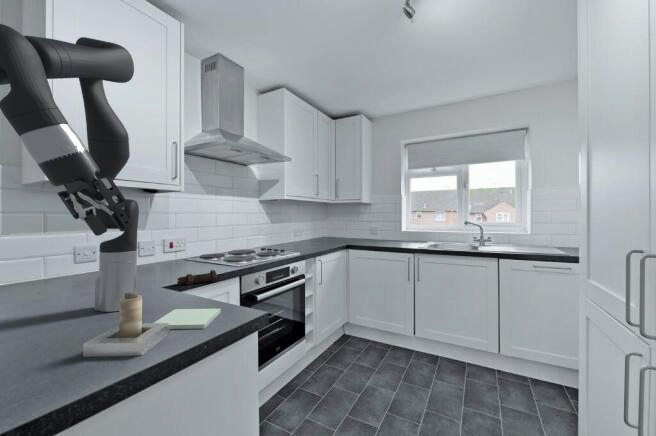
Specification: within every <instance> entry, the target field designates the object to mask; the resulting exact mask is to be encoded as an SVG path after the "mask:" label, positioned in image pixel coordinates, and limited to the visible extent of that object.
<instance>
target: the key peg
mask: <svg viewBox="0 0 656 436" xmlns="http://www.w3.org/2000/svg"><path fill="white" fill-rule="evenodd" d="M118 322H119V323H118V325H119V338H137V337H139V336H140V335H142V323H143V295H141V294H139V292H138V291H136V292H127V293H125V297H122V298H120V311H119V321H118Z"/></svg>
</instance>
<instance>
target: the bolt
mask: <svg viewBox="0 0 656 436" xmlns="http://www.w3.org/2000/svg"><path fill="white" fill-rule="evenodd" d="M217 277H218V276H217V271H216V269H215V270H214V269H212V270H210V271H209V272H207V273H200V274H192V273H187V274H186V275H185V276H179V277H178V278H177V282H176V284H177V285H188V286H192V285H193V284H194V283H201V282H202V283H203V282H211V283H216V282H217V279H218V278H217Z"/></svg>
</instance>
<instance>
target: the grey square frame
mask: <svg viewBox="0 0 656 436" xmlns="http://www.w3.org/2000/svg"><path fill="white" fill-rule="evenodd" d="M169 334H170V329H169V323H154V322H150V323H148V322H147V323H143V322H142V335H140V336H139V337H137V338H119V324H118V325H115V326H114V327H112V328H110V329H108V330H106V331H105V332H103V333H101V334H99V335H97V336H95V337H93V338H91V339H90V340H87V341H86V342H84V343H83V344H82V345H83V346H82V357H83V358H84V357H85V358H86V357H87V358H88V357H92V358H93V357H127V356H128V357H130V356H131V357H132V356H143V355H144V354H146V353H147V352H149V350H150V349H152V348H153V347H155V346H156V345H157V344H158V343H160V342H161V341H162V340H164V339H165V338H166V337H167V336H169Z"/></svg>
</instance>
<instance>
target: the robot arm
mask: <svg viewBox="0 0 656 436" xmlns="http://www.w3.org/2000/svg"><path fill="white" fill-rule="evenodd" d="M134 73H135V65H134V60H133V57H132V54H131V53H130V52H129V51H128V49H127V48H126V47H124V46H122V45H120V44H118V43H115V42H111V41H105V40H101V39H96V38H91V37H85V36H83V37H79V38H78V39H77V40H76V41H75V43H72V42H69V41H63V40H61V39H60V40H59V39H54V38H50V37H49V38H47V37H41V36H36V35H35V36H33V35H23V34H22V33H20V32H19V31H17V30H16V29H14V28H13V27H11V26H9V25H6V24H2V23H0V86H3V85H9V86H10V90H9V92H8V93H7V94H6V95H5V96H4V97H3V98H2V99H0V111H1V112H2V114H3V116H4V118H5V119H6V120H7V122H9V124H10V125H11V127H12V128H13V130H14V131H15V133H16V134H17V135H18V136H19V138H20V140H21V141H22V143H23V145H24V147H25V149H26V150H27V152H28V154H29V155H30V157H32V159H33V160H34V162H35V163H36V165H37V166H38V167H39V169H40V170H41V172H42V173H43V174H44V175H45V177H46V178H47V179H48V181H49V182H50V184H51V185H52V186H53V187H60V186H64V188H65V189H63V190H61V191H58V192H57V195H58V197H59V198H60V200H61V201H62V203H63V204H64V205H65V207H66V209H67V210H68V211H69V213H70V214H71V216H72V217H73V219H75V220H78V219H80V220H81V221H82V222H85V223H86V224H87V226H88V227H89V229H90V230H91V231H92V233H93V235H94V236H97V237H98V236H101V235H103V234H105V233H107V232H108V230H111V229H112V230H118V231H120V232H122V234H120V235H119V236H117V237H115V238H112V239H108V240H105V241H102V242H100V243H99V256H98V257H99V261H98V262H99V263H98V277H95V280H94V311H99V312H104V313H105V312H107V313H109V312H118V311H119V312H120V298H122V297H125V293H127V292H137V267H138V266H137V260H138V257H137V256H138V253H137V252H138V230H139V229H138V226H139V217H140V216H139V214H140V213H139V212H140V207H139V204H138V201H137V200H136V199H132V198H131V199H129V198H128V199H127V198H125V197H124V195H123V194H122V192H121V191H120V189H119V187H118V186H117V185H116V183H115V182H114V181H115V179H116V178H117V176H118V175H119V174H120V172H121V171H122V170H123V169H124V167H125V166H126V164H127V163H128V161H129V159H130V138H129V134H128V133H129V132H128V131H127V128H126V127H125V125H124V124H123V122H122V121H121V119H120V118H119V116H118V115H117V114H116V112H115V111H114V110H113V108H112V106H111V104H110V103H109V101H108V99H107V96H106V92H105V88H104V82H103V81H106V82H110V83H116V84H117V83H118V84H123V83H124V84H126V83H129V82H130V81H131V80H132V79H133V77H134ZM52 79H53V80H58V79H60V80H61V79H78V81H79V85H80V90H81V91H80V92H81V96H82V101H83V107H84V116H85V125H86V139H87V140H86V141H87V147H88V148H87V147H86V145H85V144H84V142H83V141H82V139H81V138H80V136H79V135H78V133H77V132H76V131H75V130H74V129H73V128H72V126H71V125H70V124H69V122H68V120H67V118H66V117H65V116H64V114H63V112H62V111H61V110H60V108H59V105H57V104H56V102H55V99H54V97H53V93H52V89H51V87H50V84H49V81H48V80H52Z"/></svg>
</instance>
